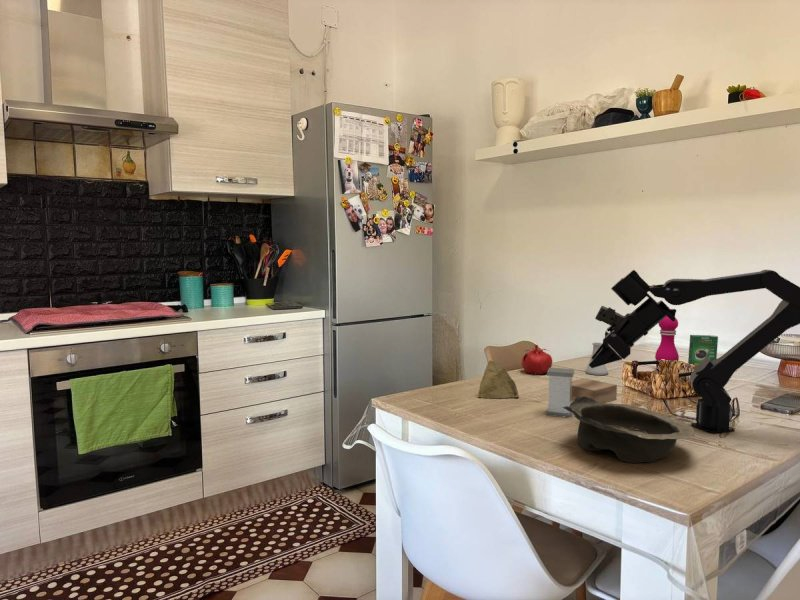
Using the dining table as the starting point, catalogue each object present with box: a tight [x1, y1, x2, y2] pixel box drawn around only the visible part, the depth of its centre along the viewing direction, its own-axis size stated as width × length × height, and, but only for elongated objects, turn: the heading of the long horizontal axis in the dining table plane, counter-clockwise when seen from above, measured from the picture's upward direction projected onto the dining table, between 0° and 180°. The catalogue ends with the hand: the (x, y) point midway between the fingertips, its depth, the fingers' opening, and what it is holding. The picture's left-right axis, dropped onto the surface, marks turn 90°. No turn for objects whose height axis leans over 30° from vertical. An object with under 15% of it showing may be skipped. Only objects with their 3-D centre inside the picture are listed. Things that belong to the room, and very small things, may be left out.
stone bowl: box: [563, 396, 695, 464], centre depth 122 cm, size 25×25×9 cm
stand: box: [571, 378, 618, 404], centre depth 162 cm, size 10×10×4 cm
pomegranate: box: [521, 344, 553, 375], centre depth 195 cm, size 10×10×9 cm
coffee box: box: [687, 334, 719, 366], centre depth 190 cm, size 8×3×13 cm, turn 90°
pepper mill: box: [654, 316, 680, 361], centre depth 198 cm, size 7×7×20 cm
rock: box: [477, 360, 520, 399], centre depth 164 cm, size 11×9×10 cm
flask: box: [585, 341, 609, 376], centre depth 194 cm, size 7×7×10 cm
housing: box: [545, 367, 575, 418], centre depth 148 cm, size 6×5×11 cm
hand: (591, 362), depth 144 cm, fingers open, 9 cm apart
